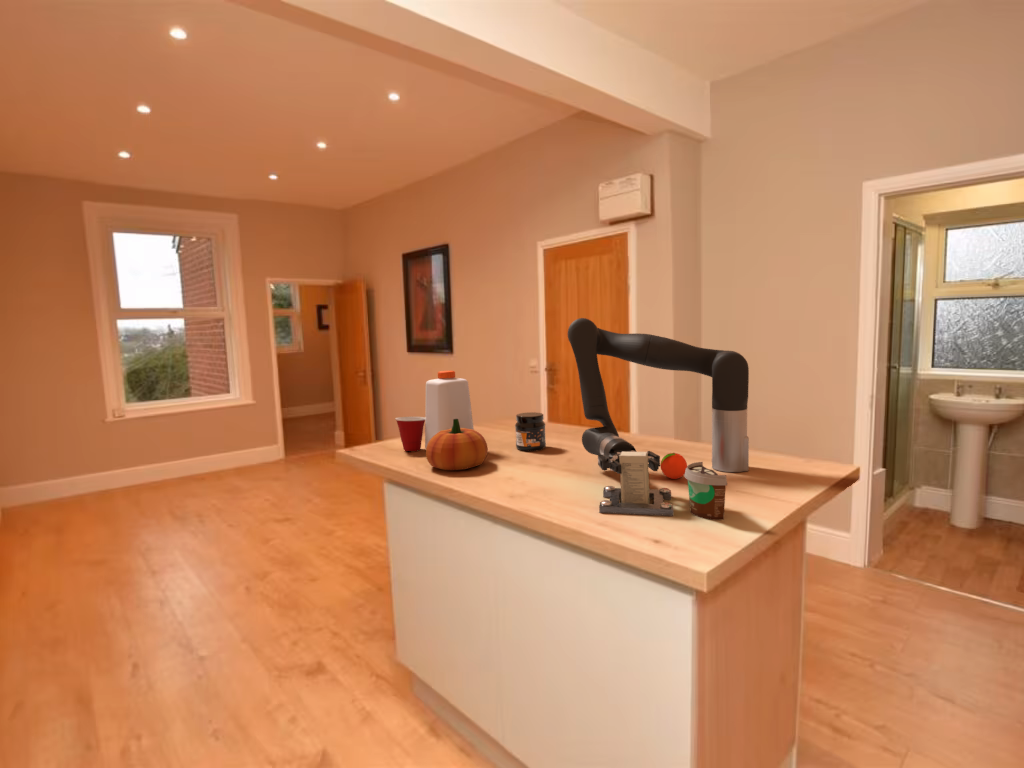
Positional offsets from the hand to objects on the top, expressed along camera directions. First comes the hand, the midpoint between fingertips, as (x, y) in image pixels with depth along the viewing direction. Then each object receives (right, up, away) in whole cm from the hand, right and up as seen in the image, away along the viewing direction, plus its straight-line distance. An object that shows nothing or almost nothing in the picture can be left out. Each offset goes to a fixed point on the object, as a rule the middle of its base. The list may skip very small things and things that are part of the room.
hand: (638, 468), depth 123 cm
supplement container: (-22, -3, +64) cm, 68 cm away
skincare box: (0, -9, +3) cm, 9 cm away
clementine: (+14, -6, +21) cm, 27 cm away
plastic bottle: (-51, -4, +66) cm, 83 cm away
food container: (+13, -9, -5) cm, 16 cm away
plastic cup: (-64, -4, +68) cm, 94 cm away
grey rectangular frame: (0, -9, +2) cm, 9 cm away
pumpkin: (-46, -6, +44) cm, 64 cm away
